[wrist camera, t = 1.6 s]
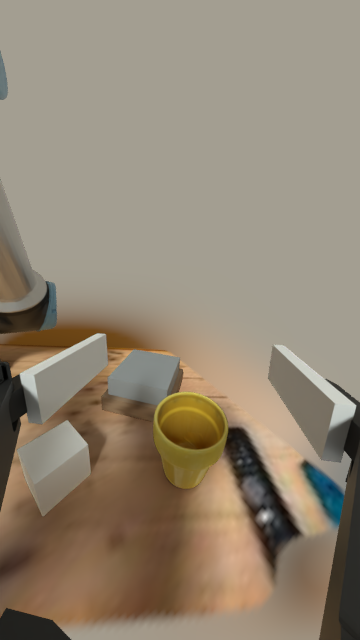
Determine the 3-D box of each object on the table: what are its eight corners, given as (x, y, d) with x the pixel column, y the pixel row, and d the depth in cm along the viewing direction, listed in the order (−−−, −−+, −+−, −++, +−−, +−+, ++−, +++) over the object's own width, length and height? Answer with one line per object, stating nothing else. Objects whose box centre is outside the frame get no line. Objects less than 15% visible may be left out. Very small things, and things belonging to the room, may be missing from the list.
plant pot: (193, 425, 36) (199, 384, 32) (232, 480, 27) (245, 431, 24) (142, 448, 31) (143, 402, 27) (169, 524, 22) (176, 470, 19)
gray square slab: (108, 394, 37) (107, 377, 35) (134, 362, 48) (134, 349, 47) (166, 407, 35) (167, 390, 34) (178, 371, 46) (180, 357, 45)
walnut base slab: (102, 412, 37) (101, 396, 36) (131, 372, 51) (131, 360, 49) (168, 427, 35) (170, 411, 34) (181, 382, 48) (183, 369, 47)
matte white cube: (42, 517, 22) (33, 485, 20) (25, 480, 25) (16, 450, 23) (91, 474, 27) (88, 444, 25) (71, 447, 30) (67, 419, 28)
